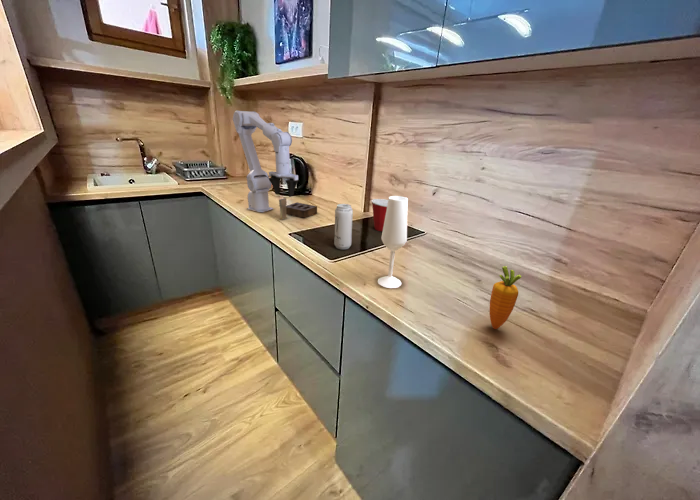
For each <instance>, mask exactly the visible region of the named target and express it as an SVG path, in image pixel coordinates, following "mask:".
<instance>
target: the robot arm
mask: <svg viewBox="0 0 700 500" xmlns="http://www.w3.org/2000/svg"><path fill="white" fill-rule="evenodd" d="M232 123H233V125H234V128H235V131H236V133H237V134H238V137H239V140H240V143H241V146H242V151H243V152H244V156H245V160H246V163H247V166H248V169H249V173H248V174H247V175H246V185H247V188H248V190H249V191H248V194H247V206H248V207H247V208H246V210H249V211H253V212H258V213H265V212H268V211H271V210H273V209H274V208H273V207H270V201H269V200H270V199H269V192H270V189H271V188H273V191H274V194H275V195H278V194H281V193H280V192H281V181H282V180H281V179H285V183H286V186H287V194H288V197H289V198H290V197H294V193H295V189H296V186H297V184H298V182H299V175H298V174H294V173H291V163H290V160H291V159H290V147H291V146H292V144H293V138H292V135H291V133H290V132H289V131H282V129H281V128H278V127H277V126H276V125H275V123H274V122H266V121H265V120H264V119H263V118H262V117H260V113H258V112H256V111H254V110H253V111H250V110H247V111H246V110H239V109H238V110H235V111H234V112H233V115H232ZM257 129H259V130H260V131H262V134H263V136H264V137H266V138H267V139H268V140H269V141H271V144H272V146H273V151H274V153H275V155H274V156H275V171H274V170H273V171H268V172H267V171H266V170H264V169H263V168H262V166H261V163H260V159H259V156H258V153H257V150H256V147H255V143H254V139H253V137H252V135H253V134H254V133H255V132H256V130H257Z"/></svg>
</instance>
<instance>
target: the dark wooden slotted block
mask: <svg viewBox="0 0 700 500" xmlns="http://www.w3.org/2000/svg"><path fill="white" fill-rule="evenodd" d="M286 213H287V215H288V216H292V217H297V218H301V219H307V218H309V217H311V216H315V215H317V214H318V206H317V205H313V204H307V203H301V202H298V201H297V202H294V203H291V204H287V205H286Z"/></svg>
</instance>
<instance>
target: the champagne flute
mask: <svg viewBox="0 0 700 500" xmlns="http://www.w3.org/2000/svg"><path fill="white" fill-rule="evenodd" d="M387 200H388V205H387V210H386V216H385V221H384V226H383V231H381V232H382V233H381V238H380V239H381V242H382V244H383V245H384V246H385V248H387V250H389V251H390V254H389V262H388V263H389V264H388V272H387V275H386V276H381V277H379V278H378V280H377V283H378V285H379V286H381V287H383V288H387V289H397V288H400V287H401V286H402V281H401V280H400V279H399V278H397V277H395V276H394V275H393V274H394V264H395V254H396V251H399V250H400V249H401V248H403V247H405V245H406V243H407V241H408V205H409V199H408V197H406V196H402V195H391V196H388V199H387Z"/></svg>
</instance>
